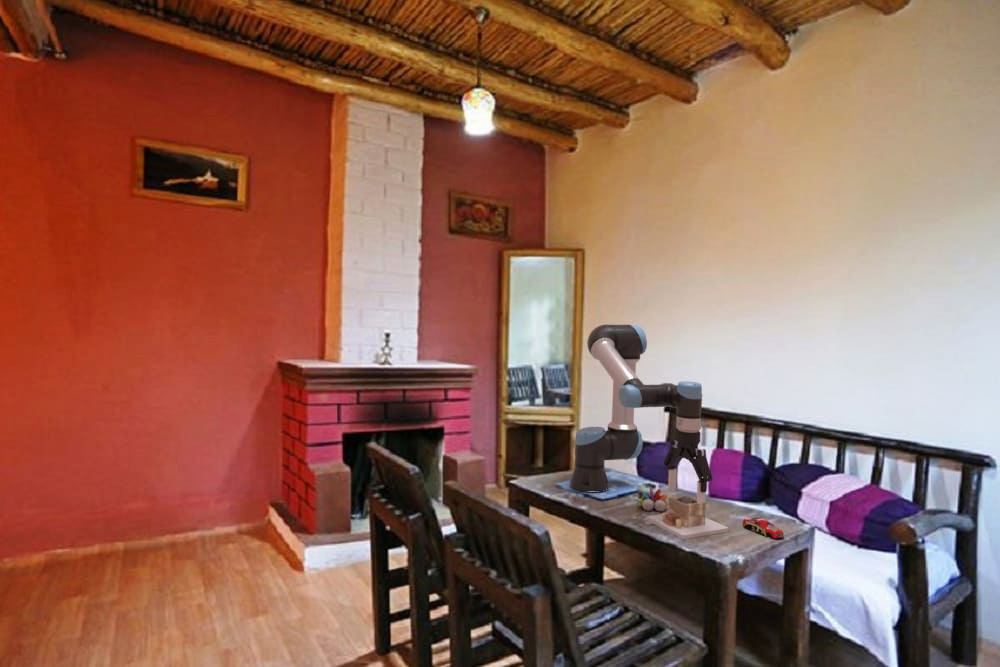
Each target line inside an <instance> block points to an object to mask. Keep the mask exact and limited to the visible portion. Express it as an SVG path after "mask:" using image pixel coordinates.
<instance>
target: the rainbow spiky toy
mask: <svg viewBox="0 0 1000 667" xmlns="http://www.w3.org/2000/svg"><path fill="white" fill-rule="evenodd" d="M661 492H662V490H661V489H660V488H657V490H656V491H655V493H654V490H653V488H652V487H649V493H648V492H646V491H642V496H641V498H640V499H639V504H641V505H642V509H643V510H645V511H648V512H649V511H652V510H653V509H655V510H656V511H657V512H660V513H661V512H662V513H663V512H664V511H665V510H666V508H668V507H669V503H668V502H667V501H666V499H667V498H668V494H661ZM649 494H650V495H649Z"/></svg>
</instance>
